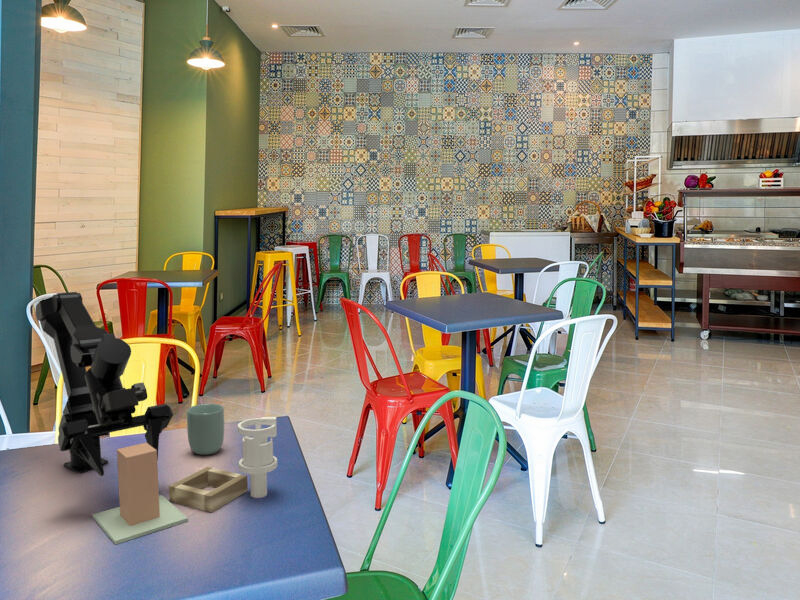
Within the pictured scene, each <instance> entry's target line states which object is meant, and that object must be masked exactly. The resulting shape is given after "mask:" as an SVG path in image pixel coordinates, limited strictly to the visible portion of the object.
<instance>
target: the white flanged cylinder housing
mask: <svg viewBox="0 0 800 600" xmlns="http://www.w3.org/2000/svg"><path fill="white" fill-rule="evenodd" d="M262 425H265V426H268V427H266V428H262ZM250 426H255V427H254V428H255V429H249V428H247V427H250ZM277 430H278V429H277V416H270V417H269V416H263V417H257V418H249V419H245V420H243V421H241V422H239V423H238V424H237V432H238V434H239V435H241V436H243V437H242V458H240V460H239V461H238V470H239V471H240V472H241V473H243V474H247V475H249V480H250V497H252V498H254V499H261V498H265V497H267V495H268V474H267V473H270V472H272V471H274V470H275V469H277V468H278V458H277V457H276V456H274V442H273V441H274V438H275V437H277V434H278V433H277ZM268 438H270V441H269V442H268Z"/></svg>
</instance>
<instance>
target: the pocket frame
mask: <svg viewBox="0 0 800 600" xmlns="http://www.w3.org/2000/svg"><path fill="white" fill-rule="evenodd" d="M209 486H210V487H214V489H212V490H210V491H209V490H205V489H204V488H206V487H209ZM248 490H249V489H248V475H245V474H241V473H235V472H232V471H228V470H224V469H218V468H214V467H211V466H210V467H209V466H206V467H203V468H202V469H200V470H198V471H195V472H194V473H191V474H190V475H188V476H186V477H184V478H181V479H180V480H177V481H176V482H174V483H172V484H170V485H168V491H169V492H168V498H169V499H168V501H169V502H170V503H174V504H178V505H183V506H186V507H189V508H193V509H196V510H197V509H198V510H201V511H203V512H208V513H213V512H214V511H216V510H218V509H220V508H222V507H223V506H224V505H227V504H228V503H229V502H231V501H233V500H235V499H237V498H238V497H240V496H241V495H244V494H245V493H247V492H249V491H248Z"/></svg>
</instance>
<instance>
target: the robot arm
mask: <svg viewBox="0 0 800 600" xmlns="http://www.w3.org/2000/svg"><path fill="white" fill-rule="evenodd" d="M35 317H36V320H37V321H38V322H39V323H40V326H41V329H42V331H43V332H44V333H46V335H48V336H49V337H50V338H52V339H53V342H54V343H53V344H54V346H55V350H56V355H57V359H58V363H59V367H60V371H61V374H62V379H63V382H64V386H65V391H66V395H67V400H66V404H65V406H64V408H63V410H62V416H61V419H60V422H59V425H58V437H57V443H58V447H59V451H61V452H66V451H69V455H70V456H69V458H70V461H67V462H64V463H63V467H65V468H67V469H69V470H72V471H74V472H76V473H83V472H86V471H89V470H91V469H93V470H94V471H95V472H96V473H97V474H98V475H99V476H100V477H103V476H104V475H105V471H104V468H103V466H104V465H108V464H109V460H107V459H105V458H103V457H102V451H101V438H100V437H104V436H109V435H110V433H113V432H118V431H119V432H120V431H124V430H128V429H133V428H138V427H139V428H140V427H143V430H144V431H145V434H144V438H145V441H146V443H148V444H149V445H150V446H152V447H153V448H154V449H156V450H157V462H158V459H159V443H160V442H159V440H160V435H161V434H162V433H163V430H164V429H166V428H168V426H169V424H170V421H171V419H172V418H173V416H174V413H173V410H172V408H171V406H170V405H169V404H166V403H162V404H157V405H153V406H148V407H147V408H146V409H145V410H146V411H145V412H144V414H142V415H135V416H133V415H132V414H134V413H135V412H136V411H137V410H136V407H137V406H139V405H140V404H139V402H143V401H145V400H147V399H148V392H147V388H146V385H145V383H144V382H138V383H133V384H132V385H130V388H126V387H124V386H123V383H122V380H121V376H123V375H124V373H125V370H126V367H127V365H128V362H129V360H130V357H131V356H132V349H131V346H130V345H129V344H128V343H127V342H126V341H125V340H122V339H120V338H117V337H116V335H115V333H109V332H108V331H107V330H106V329H104V328H101V327H98V326H97V325H96V324H95V322H94V320H93V318H92V317H91V315H90V313H89V312H88V310H87V308H86V306H85V305H84V303H83V296H82V294H81V293H80V292H77V291H73V292H72V291H70V292H58V293H56V294H53V295H52V296H51V297H47V298H43V299H41V300H39V301H38V303H37V304H36V305H35ZM89 367H90V368H89ZM87 368H88V370H87Z"/></svg>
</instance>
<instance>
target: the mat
mask: <svg viewBox="0 0 800 600" xmlns="http://www.w3.org/2000/svg"><path fill="white" fill-rule="evenodd" d="M159 509H160V517H158V518H155V519H151V520H148V521H145V522H142V523H138V524H135V525H132V526H130V525H129V524H128V523H127V522H126V521H125V520H124V519H123V518H122V517H121V516H120V506H118V507H114V508H110V509H107V510H104V511H99V512H97V513H94V514H92V519H93V520H94V521H95V522H96V523H97V524H98V525H99V527H100V528H101V529H102V530H103V532H104V533H105V534H106V535H107V537H108V538H109V539H110V540H111V541H112V542H113V544H114V545H118V544H122V543H125V542H127V541H130V540H134V539H137V538H140V537H144V536H146V535H149V534H152V533H156V532H159V531H162V530H165V529H168V528H170V527H171V528H172V527H174V526H178V525H181V524H183V523H187V522H189V518H188V517H187V516H186V515H185V514H184V513H183V512H182V511H181V510H180V509H178V508H177V507H176V506H175V505H174V504H172V502H170V501H169V499H167V498H166V497H165V496H164V495H162V494H159Z"/></svg>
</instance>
